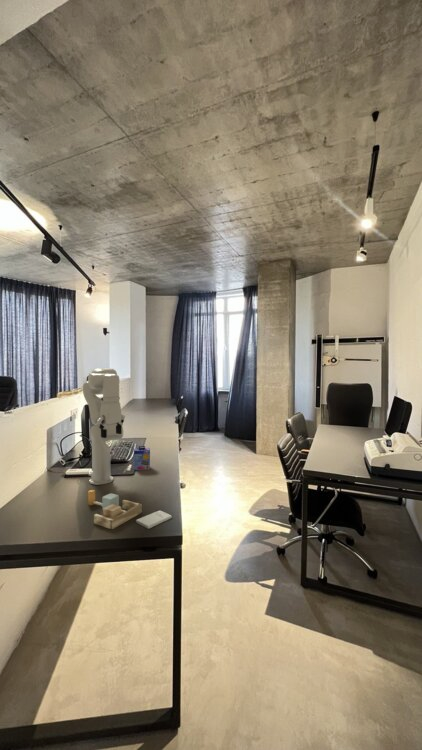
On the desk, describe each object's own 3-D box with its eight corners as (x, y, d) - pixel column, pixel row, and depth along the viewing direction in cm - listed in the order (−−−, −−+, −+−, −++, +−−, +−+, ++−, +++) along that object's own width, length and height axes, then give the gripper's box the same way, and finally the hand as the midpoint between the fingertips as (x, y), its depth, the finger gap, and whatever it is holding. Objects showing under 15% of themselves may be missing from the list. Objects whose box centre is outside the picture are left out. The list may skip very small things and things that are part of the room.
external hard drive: (135, 523, 136) (159, 513, 145) (148, 530, 130) (171, 519, 140) (135, 519, 136) (159, 509, 145) (148, 526, 130) (171, 515, 140)
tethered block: (85, 505, 152) (84, 492, 152) (93, 501, 156) (93, 488, 156) (110, 512, 144) (110, 499, 144) (118, 508, 149) (118, 495, 148)
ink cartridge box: (133, 470, 202) (133, 447, 201) (133, 467, 207) (133, 444, 207) (150, 469, 204) (150, 446, 204) (149, 466, 210) (149, 443, 209)
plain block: (103, 523, 135) (103, 508, 135) (112, 518, 139) (112, 504, 139) (112, 526, 133) (112, 511, 132) (121, 520, 137) (121, 506, 137)
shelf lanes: (94, 523, 135) (93, 514, 134) (124, 507, 150) (124, 499, 150) (112, 529, 130) (112, 520, 130) (141, 512, 145) (141, 504, 145)
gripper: (118, 398, 169) (118, 431, 169) (91, 401, 153) (91, 438, 154) (129, 399, 165) (129, 433, 165) (103, 402, 150) (103, 440, 150)
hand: (111, 435), depth 160 cm, fingers open, 9 cm apart
